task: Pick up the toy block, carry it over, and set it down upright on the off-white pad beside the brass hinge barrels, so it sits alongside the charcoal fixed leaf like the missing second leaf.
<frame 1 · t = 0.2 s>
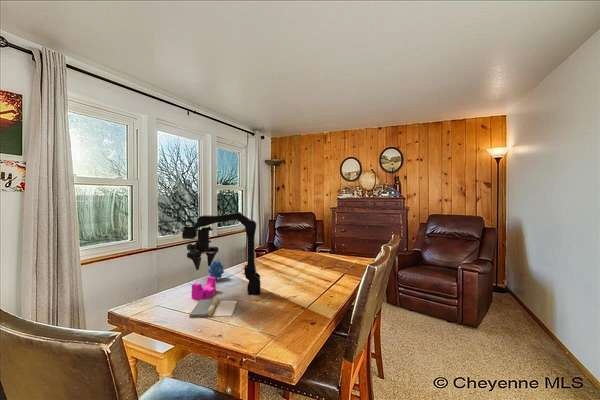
hand: (203, 268, 151), 14 cm above the table, tool pointing down, fingers open, 9 cm apart
toy block: (206, 295, 150), on the table
leaf pad: (225, 308, 132), on the table
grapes: (217, 280, 177), on the table
hinge leaf: (202, 308, 132), on the table
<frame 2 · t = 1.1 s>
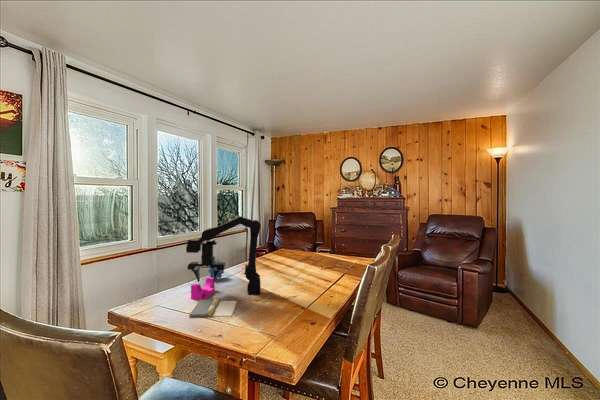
hand: (206, 281, 150), 7 cm above the table, tool pointing down, fingers open, 8 cm apart
toy block: (205, 296, 150), on the table, touching gripper
everything else where it was.
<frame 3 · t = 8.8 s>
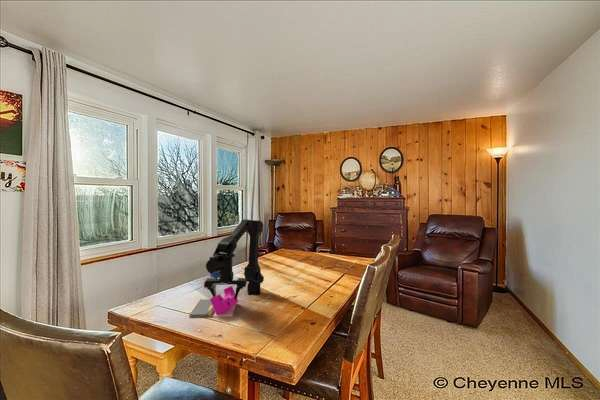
hand: (225, 300, 132), 4 cm above the table, tool pointing down, fingers open, 9 cm apart
toy block: (230, 306, 131), point 1 cm above the table, touching leaf pad
everything else where it was.
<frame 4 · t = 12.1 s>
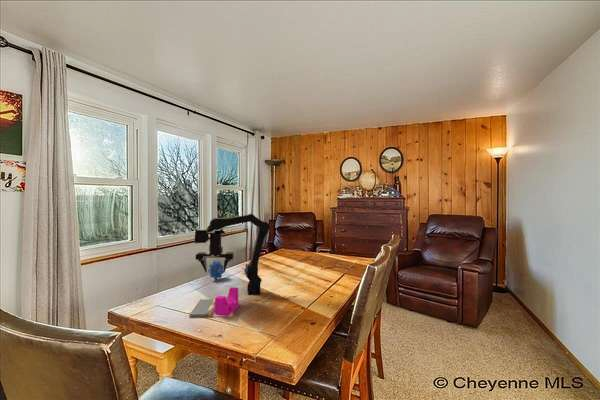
hand: (215, 272, 146), 13 cm above the table, tool pointing down, fingers open, 9 cm apart
toy block: (229, 309, 131), resting on leaf pad
everything else where it was.
at the end: toy block 2.0 cm off-centre on the leaf pad, point 0.1 cm above the leaf pad's base; toy block tilted 0°; the gripper is holding nothing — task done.
